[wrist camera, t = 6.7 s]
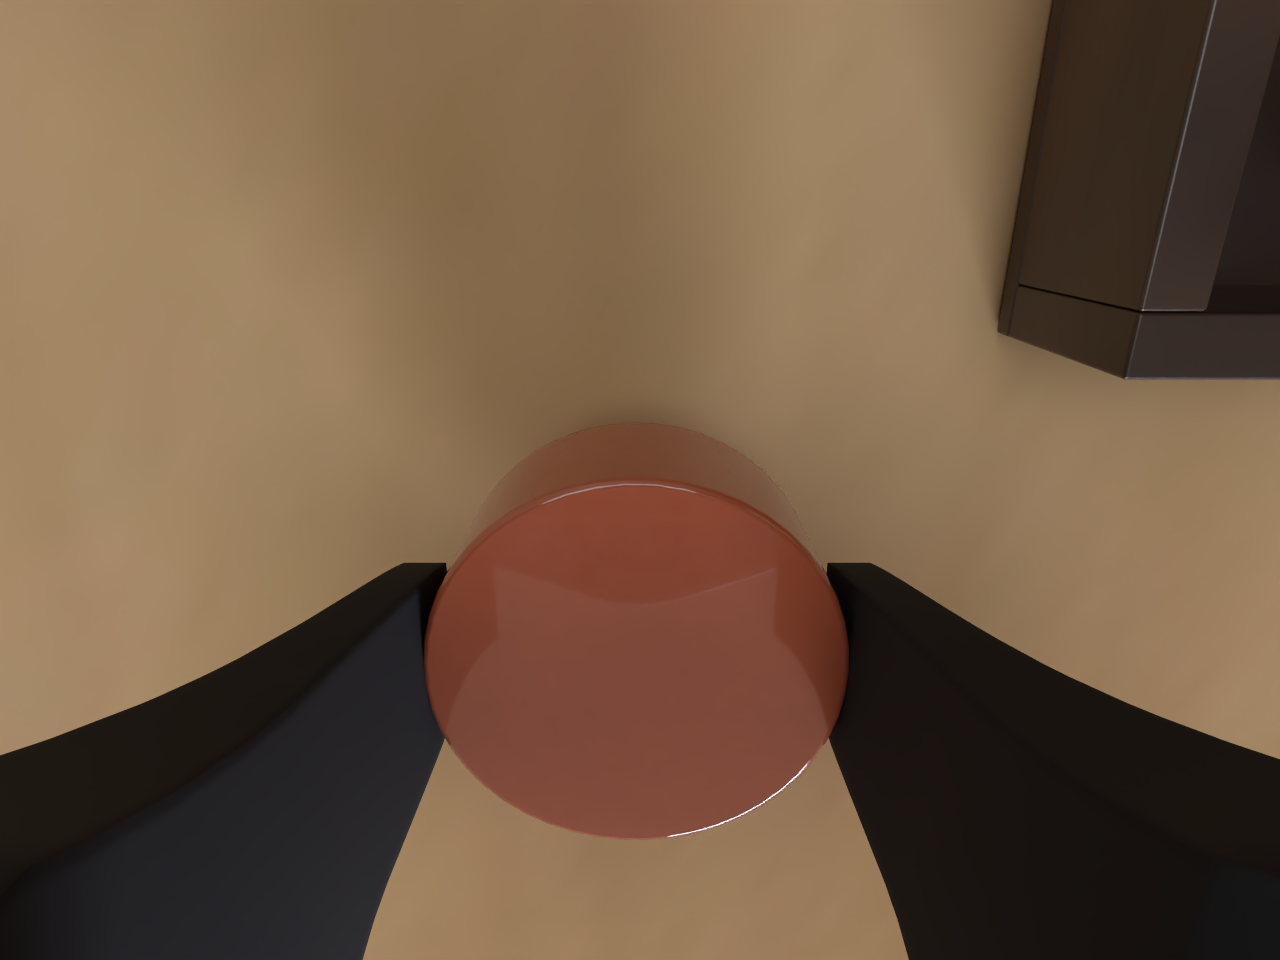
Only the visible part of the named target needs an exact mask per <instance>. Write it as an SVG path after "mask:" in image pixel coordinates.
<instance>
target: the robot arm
mask: <svg viewBox="0 0 1280 960" xmlns="http://www.w3.org/2000/svg"><path fill="white" fill-rule="evenodd" d="M446 573H447V568H446V563H403V564H401V565H398V566H396V567H394V568H392V569H390V570H389V571H387V572H385V573H383V574H381V575H380V576H378V577H376V578H375V579H373V580H371V581H370V582H368V583H367V584H365V585H363V586H362V587H360V588H358V589H357V590H355V591H354V592H352V593H350V594H349V595H347V596H345V597H344V598H342V599H341V600H339V601H337V602H336V603H334V604H332V605H331V606H329V607H328V608H326V609H324V610H323V611H321V612H319V613H318V614H316V615H314V616H313V617H311V618H310V619H308V620H306V621H305V622H303V623H301V624H299V625H298V626H296V627H294V628H292V629H290V630H289V631H287V632H285V633H283V634H282V635H280V636H278V637H276V638H274V639H273V640H271V641H269V642H267V643H265V644H264V645H262V646H260V647H258V648H257V649H255V650H253V651H251V652H249V653H248V654H246V655H244V656H242V657H240V658H238V659H237V660H235V661H233V662H231V663H229V664H227V665H225V666H223V667H221V668H219V669H217V670H215V671H213V672H211V673H209V674H207V675H205V676H202V677H200V678H198V679H196V680H194V681H192V682H189V683H187V684H185V685H183V686H181V687H178V688H176V689H174V690H172V691H170V692H167V693H165V694H163V695H161V696H159V697H156V698H154V699H152V700H149V701H147V702H144V703H142V704H140V705H137V706H134V707H132V708H129V709H127V710H124V711H121V712H119V713H116V714H114V715H111V716H108V717H106V718H103V719H101V720H98V721H95V722H93V723H90V724H88V725H85V726H82V727H80V728H77V729H75V730H72V731H69V732H67V733H64V734H62V735H59V736H56V737H54V738H51V739H48V740H45V741H42V742H39V743H37V744H34V745H30V746H27V747H24V748H21V749H18V750H15V751H12V752H9V753H6V754H3V755H0V960H363V956H364V953H365V949H366V946H367V942H368V939H369V935H370V932H371V929H372V925H373V922H374V919H375V916H376V913H377V910H378V907H379V905H380V902H381V899H382V896H383V893H384V890H385V888H386V885H387V882H388V880H389V877H390V875H391V872H392V870H393V867H394V865H395V863H396V860H397V858H398V855H399V853H400V850H401V848H402V845H403V843H404V840H405V838H406V835H407V833H408V830H409V828H410V825H411V823H412V820H413V818H414V815H415V813H416V810H417V808H418V805H419V803H420V801H421V798H422V796H423V793H424V791H425V788H426V786H427V783H428V780H429V778H430V775H431V773H432V770H433V768H434V765H435V763H436V760H437V758H438V755H439V752H440V750H441V747H442V745H443V742H444V738H445V737H444V735H443V733H442V732H441V730H440V728H439V725H438V723H437V720H436V718H435V716H434V713H433V711H432V708H431V704H430V700H429V696H428V692H427V688H426V682H425V672H424V662H423V650H424V634H425V630H426V625H427V621H428V616H429V612H430V609H431V607H432V604H433V601H434V599H435V596H436V594H437V591H438V589H439V587H440V585H441V583H442V581H443V579H444V577H445V575H446ZM827 576H828V578H829V580H830V582H831V584H832V586H833V588H834V590H835V592H836V594H837V596H838V599H839V602H840V605H841V608H842V611H843V614H844V617H845V621H846V627H847V633H848V639H849V673H848V680H847V687H846V694H845V697H844V700H843V704H842V707H841V710H840V713H839V716H838V719H837V721H836V723H835V725H834V727H833V729H832V731H831V734H830V736H829V740H830V743H831V746H832V749H833V751H834V754H835V757H836V759H837V762H838V764H839V767H840V770H841V772H842V775H843V777H844V780H845V783H846V785H847V788H848V790H849V793H850V796H851V798H852V801H853V803H854V806H855V808H856V811H857V813H858V816H859V818H860V821H861V823H862V826H863V828H864V831H865V834H866V836H867V839H868V841H869V844H870V846H871V849H872V851H873V854H874V856H875V859H876V862H877V864H878V867H879V869H880V872H881V874H882V877H883V879H884V882H885V884H886V887H887V890H888V893H889V896H890V899H891V902H892V905H893V908H894V910H895V913H896V916H897V919H898V922H899V926H900V929H901V933H902V937H903V940H904V944H905V947H906V951H907V954H908V958H909V960H1280V759H1277V758H1274V757H1271V756H1268V755H1265V754H1262V753H1259V752H1256V751H1253V750H1250V749H1247V748H1244V747H1241V746H1238V745H1235V744H1232V743H1229V742H1227V741H1224V740H1221V739H1218V738H1216V737H1213V736H1210V735H1208V734H1205V733H1202V732H1200V731H1197V730H1194V729H1192V728H1189V727H1186V726H1184V725H1181V724H1178V723H1176V722H1173V721H1170V720H1168V719H1165V718H1162V717H1160V716H1157V715H1155V714H1152V713H1150V712H1147V711H1145V710H1143V709H1140V708H1138V707H1135V706H1133V705H1130V704H1128V703H1126V702H1123V701H1121V700H1119V699H1117V698H1114V697H1112V696H1110V695H1108V694H1106V693H1103V692H1101V691H1099V690H1097V689H1095V688H1092V687H1090V686H1088V685H1086V684H1084V683H1082V682H1079V681H1077V680H1075V679H1073V678H1071V677H1068V676H1066V675H1064V674H1062V673H1060V672H1058V671H1056V670H1054V669H1052V668H1050V667H1048V666H1046V665H1044V664H1042V663H1041V662H1039V661H1037V660H1035V659H1033V658H1031V657H1029V656H1028V655H1026V654H1024V653H1022V652H1020V651H1018V650H1017V649H1015V648H1013V647H1011V646H1009V645H1007V644H1006V643H1004V642H1002V641H1000V640H998V639H997V638H995V637H993V636H991V635H990V634H988V633H986V632H985V631H983V630H981V629H979V628H978V627H976V626H974V625H973V624H971V623H969V622H968V621H966V620H964V619H963V618H961V617H960V616H958V615H956V614H955V613H953V612H951V611H950V610H948V609H947V608H945V607H943V606H942V605H940V604H939V603H937V602H935V601H934V600H932V599H931V598H929V597H927V596H926V595H924V594H923V593H921V592H919V591H918V590H916V589H915V588H913V587H912V586H910V585H908V584H907V583H905V582H904V581H902V580H900V579H899V578H897V577H895V576H894V575H892V574H890V573H889V572H887V571H885V570H883V569H881V568H880V567H878V566H876V565H873V564H871V563H828V565H827Z"/></svg>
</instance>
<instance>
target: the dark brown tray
mask: <svg viewBox="0 0 1280 960" xmlns="http://www.w3.org/2000/svg"><path fill="white" fill-rule="evenodd" d="M998 332H999V333H1001V334H1004V335H1006V336H1010V337H1012V338H1015V339H1017V340H1020V341H1023V342H1025V343H1028V344H1031V345H1034V346H1036V347H1039V348H1042V349H1044V350H1047V351H1050V352H1052V353H1055V354H1058V355H1061V356H1063V357H1066V358H1069V359H1071V360H1074V361H1077V362H1079V363H1082V364H1085V365H1088V366H1090V367H1093V368H1096V369H1098V370H1101V371H1104V372H1106V373H1109V374H1112V375H1115V376H1117V377H1120V378H1123V379H1280V0H1054V1H1053V7H1052V13H1051V19H1050V25H1049V30H1048V36H1047V42H1046V48H1045V54H1044V60H1043V66H1042V72H1041V78H1040V84H1039V89H1038V95H1037V101H1036V107H1035V113H1034V119H1033V125H1032V131H1031V137H1030V143H1029V148H1028V154H1027V160H1026V166H1025V172H1024V178H1023V184H1022V190H1021V196H1020V201H1019V207H1018V213H1017V219H1016V225H1015V231H1014V237H1013V243H1012V249H1011V255H1010V260H1009V266H1008V272H1007V278H1006V284H1005V290H1004V296H1003V302H1002V308H1001V314H1000V319H999V325H998Z"/></svg>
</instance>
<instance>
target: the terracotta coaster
mask: <svg viewBox="0 0 1280 960" xmlns="http://www.w3.org/2000/svg"><path fill="white" fill-rule="evenodd" d="M423 662H424V672H425V682H426V688H427V692H428V696H429V700H430V704H431V708H432V711H433V713H434V716H435V718H436V720H437V723H438V725H439V728H440V730H441V732H442V733H443V735H444V737H445V738H446V740H447V742H448V744H449V745H450V747H451V749H452V750H453V752H454V753H455V754H456V755H457V757H458V758H459V759H460V760H461V762H462V763H463V764H464V765H465V767H466V768H467V769H468V770H469V771H470V772H471V773H472V774H473V775H474V776H475V777H476V778H477V779H478V780H479V781H480V782H481V783H482V784H483V785H484V786H485V787H487V788H488V789H489V790H491V791H492V792H493V793H495V794H496V795H497V796H498V797H500V798H501V799H502V800H504V801H505V802H507V803H509V804H510V805H512V806H514V807H515V808H517V809H519V810H521V811H522V812H524V813H526V814H528V815H530V816H532V817H535V818H537V819H539V820H541V821H543V822H546V823H548V824H551V825H554V826H557V827H560V828H563V829H566V830H569V831H573V832H577V833H582V834H586V835H591V836H596V837H604V838H613V839H628V840H648V839H660V838H671V837H677V836H682V835H687V834H693V833H697V832H700V831H704V830H707V829H710V828H714V827H717V826H720V825H722V824H725V823H727V822H730V821H732V820H735V819H737V818H739V817H742V816H744V815H745V814H747V813H749V812H751V811H753V810H754V809H756V808H758V807H760V806H762V805H763V804H765V803H766V802H768V801H769V800H771V799H772V798H773V797H775V796H776V795H778V794H779V793H780V792H782V791H783V790H784V789H785V788H786V787H788V786H789V785H790V784H791V783H792V782H793V781H794V780H795V779H796V778H798V777H799V776H800V775H801V774H802V772H803V771H804V770H805V769H806V768H807V767H808V766H809V764H810V763H811V762H812V761H813V760H814V759H815V757H816V756H817V754H818V753H819V751H820V750H821V748H822V747H823V745H824V744H825V742H826V741H827V739H828V738H829V736H830V734H831V731H832V729H833V727H834V725H835V723H836V721H837V719H838V716H839V713H840V710H841V707H842V704H843V700H844V697H845V694H846V687H847V680H848V673H849V639H848V633H847V627H846V621H845V617H844V614H843V611H842V608H841V605H840V602H839V599H838V596H837V594H836V592H835V590H834V588H833V586H832V584H831V582H830V580H829V578H828V576H827V574H826V572H825V570H824V568H823V566H822V564H821V562H820V560H819V558H818V556H817V554H816V552H815V550H814V548H813V546H812V544H811V542H810V540H809V538H808V536H807V534H806V532H805V530H804V528H803V526H802V524H801V522H800V520H799V518H798V516H797V514H796V512H795V510H794V508H793V506H792V504H791V503H790V502H789V500H788V499H787V497H786V496H785V495H784V493H783V492H782V490H781V489H780V488H779V486H778V485H777V484H776V483H775V482H774V481H773V480H772V479H771V478H770V477H769V476H768V475H767V474H766V473H765V472H764V471H763V470H762V469H761V468H760V467H759V466H757V465H756V464H755V463H754V462H752V461H751V460H750V459H748V458H747V457H746V456H745V455H743V454H741V453H740V452H738V451H736V450H735V449H733V448H731V447H730V446H728V445H726V444H725V443H722V442H720V441H718V440H715V439H713V438H711V437H708V436H706V435H704V434H701V433H697V432H694V431H690V430H687V429H683V428H680V427H674V426H668V425H661V424H654V423H622V424H613V425H604V426H599V427H595V428H591V429H587V430H582V431H579V432H576V433H573V434H571V435H568V436H566V437H563V438H560V439H558V440H555V441H554V442H552V443H550V444H548V445H546V446H544V447H542V448H541V449H539V450H537V451H535V452H534V453H532V454H531V455H530V456H528V457H527V458H525V459H524V460H523V461H521V462H520V463H519V464H517V465H516V466H515V467H514V468H513V469H512V470H511V471H510V472H509V473H508V474H507V475H506V476H505V477H503V478H502V479H501V480H500V482H499V483H498V484H497V485H496V487H495V488H494V489H493V490H492V492H491V493H490V494H489V496H488V497H487V498H486V500H485V502H484V503H483V505H482V507H481V508H480V510H479V512H478V514H477V515H476V517H475V519H474V521H473V523H472V525H471V527H470V529H469V531H468V533H467V535H466V536H465V538H464V540H463V542H462V544H461V546H460V548H459V550H458V552H457V554H456V556H455V558H454V560H453V562H452V563H451V565H450V567H449V569H448V571H447V573H446V575H445V577H444V579H443V581H442V583H441V585H440V587H439V589H438V591H437V594H436V596H435V599H434V601H433V604H432V607H431V609H430V612H429V616H428V621H427V625H426V630H425V634H424V650H423Z"/></svg>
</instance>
